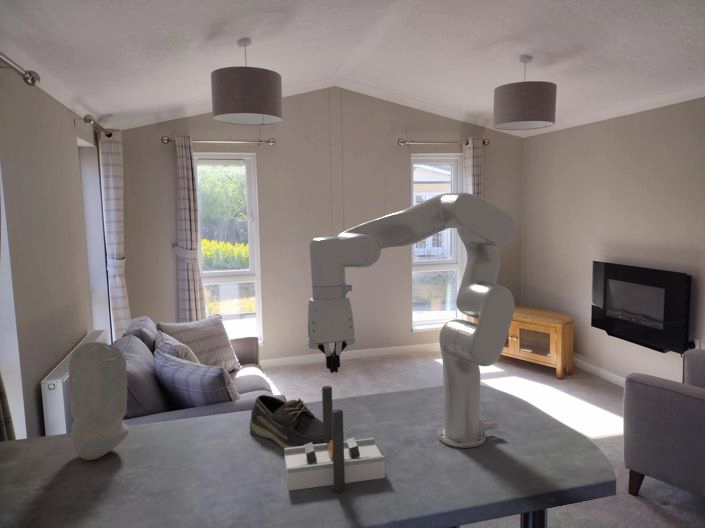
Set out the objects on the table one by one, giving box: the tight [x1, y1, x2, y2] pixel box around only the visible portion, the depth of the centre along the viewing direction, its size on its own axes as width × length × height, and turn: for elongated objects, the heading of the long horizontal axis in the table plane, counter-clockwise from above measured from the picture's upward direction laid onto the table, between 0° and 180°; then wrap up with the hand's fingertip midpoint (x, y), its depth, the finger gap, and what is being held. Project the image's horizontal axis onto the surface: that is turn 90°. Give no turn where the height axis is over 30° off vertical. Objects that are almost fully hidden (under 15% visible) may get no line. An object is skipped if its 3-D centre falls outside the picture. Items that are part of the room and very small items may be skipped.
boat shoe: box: [249, 394, 324, 450], centre depth 136 cm, size 11×29×11 cm, turn 56°
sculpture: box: [68, 341, 130, 461], centre depth 128 cm, size 15×12×30 cm
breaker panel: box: [283, 437, 386, 491], centre depth 119 cm, size 22×10×5 cm, turn 102°
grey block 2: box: [345, 436, 360, 458], centre depth 119 cm, size 2×4×2 cm, turn 11°
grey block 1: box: [304, 442, 317, 463], centre depth 117 cm, size 2×4×2 cm, turn 11°
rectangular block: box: [328, 440, 333, 459], centre depth 119 cm, size 2×4×2 cm, turn 12°
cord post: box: [332, 409, 346, 494], centre depth 111 cm, size 2×2×18 cm
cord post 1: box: [321, 385, 333, 443], centre depth 125 cm, size 2×2×18 cm
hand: (333, 370), depth 116 cm, fingers closed
